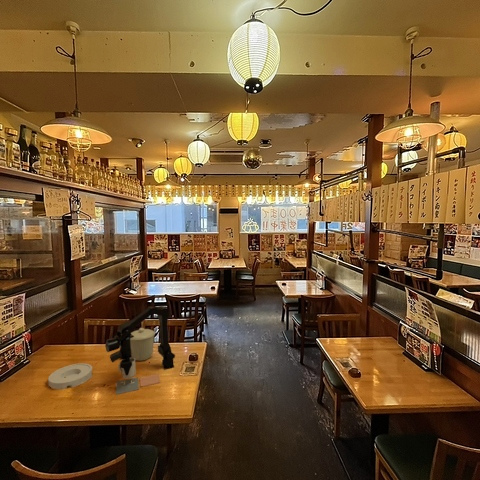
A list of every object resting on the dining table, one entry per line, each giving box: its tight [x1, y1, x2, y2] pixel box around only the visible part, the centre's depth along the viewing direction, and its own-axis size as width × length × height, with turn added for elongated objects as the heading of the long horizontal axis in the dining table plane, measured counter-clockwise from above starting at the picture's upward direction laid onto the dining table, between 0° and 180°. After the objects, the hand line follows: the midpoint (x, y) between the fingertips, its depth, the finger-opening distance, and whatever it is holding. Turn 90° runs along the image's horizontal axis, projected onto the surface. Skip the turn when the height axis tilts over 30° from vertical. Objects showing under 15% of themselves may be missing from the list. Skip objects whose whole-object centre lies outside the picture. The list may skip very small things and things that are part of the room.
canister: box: [130, 327, 156, 362], centre depth 200 cm, size 18×18×21 cm
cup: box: [118, 357, 137, 379], centre depth 168 cm, size 7×10×9 cm
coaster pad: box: [139, 373, 161, 388], centre depth 170 cm, size 11×10×1 cm
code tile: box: [115, 376, 140, 396], centre depth 165 cm, size 12×14×1 cm
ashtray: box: [47, 362, 93, 390], centre depth 174 cm, size 23×23×4 cm
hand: (126, 372), depth 167 cm, fingers closed on cup, 7 cm apart
